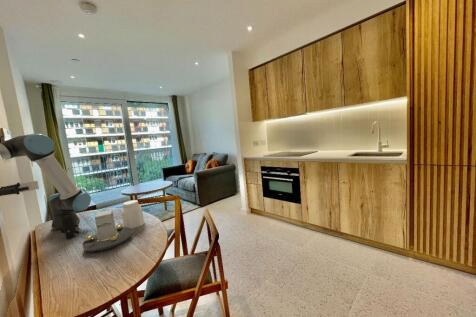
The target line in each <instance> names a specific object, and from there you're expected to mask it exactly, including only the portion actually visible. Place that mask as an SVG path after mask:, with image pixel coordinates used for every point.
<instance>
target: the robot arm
mask: <svg viewBox="0 0 476 317" xmlns="http://www.w3.org/2000/svg"><path fill="white" fill-rule="evenodd" d="M54 147H55V144H54V141H53V140H52V139H51V137H49V136H48V135H46V134H43V133H31V134H24V135H19V136H18V135H17V136H15V137H12V138H9V139H7V140H6V139H5V140H4V141H0V155H1V157H2V160H5V161H6V160H11V159H14V158H19V157H27V158H28V159H29V161H30V162H32V163H36V165H37V166H38V167H39V168H40V169H41V171H42V172H43V173H44V175H45V176H46V177H47V178H48V180H49V181H50V183H51V184H52V185H53V186H54V188H55V189H56V191H57V193H54V194H51V195H49V196H48V202H49V206H50V210H51V215H52V221H51V230H52V231H61V229H63V227H62V221H61V220H62V219H61V216H62V215H65V214H71V213H72V214H73V216H72V217H73V220H74V224H75V225H76V224H77V222H76V221H78V224H79V223H81V220H80V218H79V216H78V215H77V213H78V212H83V211H85V210H87V209H88V208H89V207H90V205H91V202H92V197H91V195H90V194H89V193H87V192H83V190H82V189H81V188H80V187H78V186H76V185H75V184H74V182H73V180H72V179H71V178H70V177H69V175H68V174H67V173H66V171H65V170H64V167H63V166H62V165H61V163H60V162H59V161H58V160H57V158H56V157H55V153H56V151H55V150H54V149H55V148H54ZM0 187H1V188H0V197H3V196H10V195H20V194H21V193H25V192H30V191H34V190H39V189H40V186H39V182H38V180H34V181H28V182H22V183H21V182H16V183H15V184H10V185H6V186H0Z"/></svg>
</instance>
